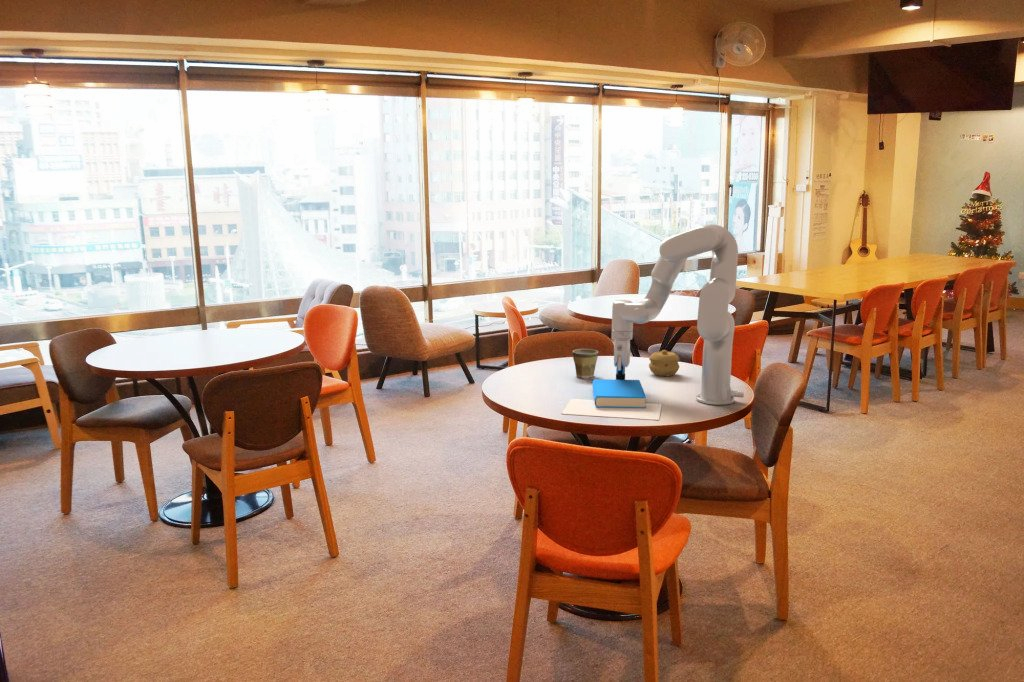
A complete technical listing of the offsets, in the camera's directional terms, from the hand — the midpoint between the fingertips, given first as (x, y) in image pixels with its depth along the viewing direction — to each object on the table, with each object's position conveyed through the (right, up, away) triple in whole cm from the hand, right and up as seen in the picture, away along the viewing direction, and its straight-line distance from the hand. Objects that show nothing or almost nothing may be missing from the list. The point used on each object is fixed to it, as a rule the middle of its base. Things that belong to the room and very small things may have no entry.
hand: (620, 384), depth 290 cm
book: (-3, -4, -14) cm, 15 cm away
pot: (+20, +2, +22) cm, 30 cm away
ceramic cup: (-11, +2, +21) cm, 24 cm away
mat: (-6, -7, -27) cm, 28 cm away
